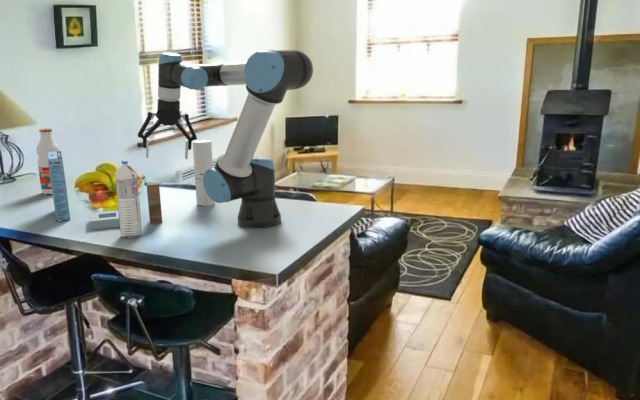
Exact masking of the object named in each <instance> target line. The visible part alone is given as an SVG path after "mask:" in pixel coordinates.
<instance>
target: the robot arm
mask: <svg viewBox="0 0 640 400" xmlns="http://www.w3.org/2000/svg"><path fill="white" fill-rule="evenodd" d="M159 54H160V55H159V57H158V74H157V75H158V77H157V79H158V84H157V85H158V86H157V97H158V99H157V109H156V111H155V112H154V111H152V110H148V111H147V116H146V119H145V120H144V122H143V124H142V126H141V127H140V129H139V131H138V133H137V137H138V138H140V139H142V148H143V149H145V158H146V159H148V158H149V149H150V148H149V145H150V143H149V141H150V139H149V137H150V136H151V135H152V134H153V133H154V132H155V131H156V130H157V129H158V128H159V127H160V126H161V125H163V126H172V127H173V126H176V127H177V128H178V130H179V131H180V132H181V134H182V135H183V136H184V137H185V138H186V139H185V144H184V145H185V147H184V151H185V152H184V158H185V160H188V156H189V150H192V144H193V141H197V139H198V138H197V134H196V132H195V130H194V128H193V126H192V124H191V121H190V119H189V118H190V117H189V116H190V115H189V113H188V112H185V113H180V112H181V111H180V110H181V109H180V108H181V100H180V99H181V87H183V88H186V89H189V90H194V91H201V90H202V89H204V88H206V87H220V86H221V87H227V86H238V85H239V86H242V85H244V86H245V90H246V92H247V93H248V94H247V96H246V99H245V102H244V104H243V107H242V108H241V112H240V114H239V116H238V119H237V123H236V125H235V128H234V130H233V131H232V136H231V137H230V140H229V142H228V145H227V147H226V150H225V152H224V153H223V154H221V155H219V156H218V158H217V160H216V162H215V165H214V166H213V168H209V169H208V170H206V171H205V173H204V176H203V185H204V188H205V191H206V193H207V195H208V196H209V197H210V198H211V199H212V200H213V201H214V202H215V203H217V204H222V203H230V202H232V201H237V200H239V199H241V202H240V203H241V204H240V206H239V210H238V214H237V225H239V226H241V227H244V228H252V229H253V228H255V229H258V228H260V229H261V228H270V227H273V226H277V225H279V224H280V223H281V222H282V217H281V216H282V214H281V212H280V210H279V207H278V206H279V205H278V204H277V201H276V187H275V186H276V183H275V181H276V180H275V178H276V177H275V174H276V173H275V170H276V169H275V164H274V160H273V159H272V158H271V157H270V158H269V157H263V156H255V153H256V151H257V149H258V146H259V144H260V141H261V140H262V137H263V134H264V132H265V130H266V128H267V125H268V123H269V121H270V118H271V116H272V114H273V111H274V108H275V106H276V105H279V104H282V102H283V101H284V98H285V96H286V94H287V92H288V91H291V90H293V91H294V90H297V89H301V88H304V87H305V86H307V85H308V83H309V82H310V81H311V80H312V77H313V73H314V67H313V62H312V61H311V59H310V57H309V56H308V55H307V54H306V53H305V52H303V51H300V50H297V49H281V50H278V49H277V50H275V49H265V50H264V49H263V50H259V51H256V52H254V53H252V54H251V55H250V56H249V57H248V59H247V60H246V61H236V62H235V61H234V62H224V63H222V62H221V63H205V64H203V63H202V64H201V63H200V64H197V63H196V64H190V63H189V64H188V63H186V62H185V63H184V62H183V56H182V55H181V54H179V53H175V52H174V53H173V52H163V53H159ZM154 117H156V118H157V120H156V122H155V123H153V125H152V126H151V127H150V128H149V129H148V130H147V131H146V129H147V128H148V126H149V124H150V122H151V120H152V119H154ZM181 118H182V120H183V121H185V123H186V125H187V127H188V129H189V131H190V134H191V135H190V134H189V133H188V131H186V129H185V128H184V127H183V126H182V124H181V123H180V119H181ZM145 131H146V132H145Z"/></svg>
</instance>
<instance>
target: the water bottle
mask: <svg viewBox="0 0 640 400" xmlns="http://www.w3.org/2000/svg"><path fill="white" fill-rule="evenodd" d="M114 179H115V188H116V197H117V198H116V200H117V202H116V203H117V210H118V214H119V222H120V223H119V224H120V227H119V232H120V236H121V237H122V238H124V239H134V238H138V237H140V236H142V234H143V229H142V227H143V226H142V217H141V216H142V215H141V206H140V196H139V187H138V172H137V171H136V169H134V168H133V167H132V166H130V165H129V164H128V160H125V159H123V160H121V166H119V167H118V168H117V170H116V171H115V173H114Z"/></svg>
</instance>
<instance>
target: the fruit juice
mask: <svg viewBox="0 0 640 400" xmlns="http://www.w3.org/2000/svg"><path fill="white" fill-rule="evenodd" d="M38 132H39V134H40V139H39V141H38V144H37V146H36V149H35V151H36V154H37V157H38V159H37V169H38V176H39V183H40V190H41V194H42V193H43V195H46V194H51V195H53V194H52V187H51V179H50V172H49V164H48V152H55V151H60V146H59V144H58V143H56V141H55V139H54V137H53V135H52V133H53V129H52V128H40V129H39V130H38Z"/></svg>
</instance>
